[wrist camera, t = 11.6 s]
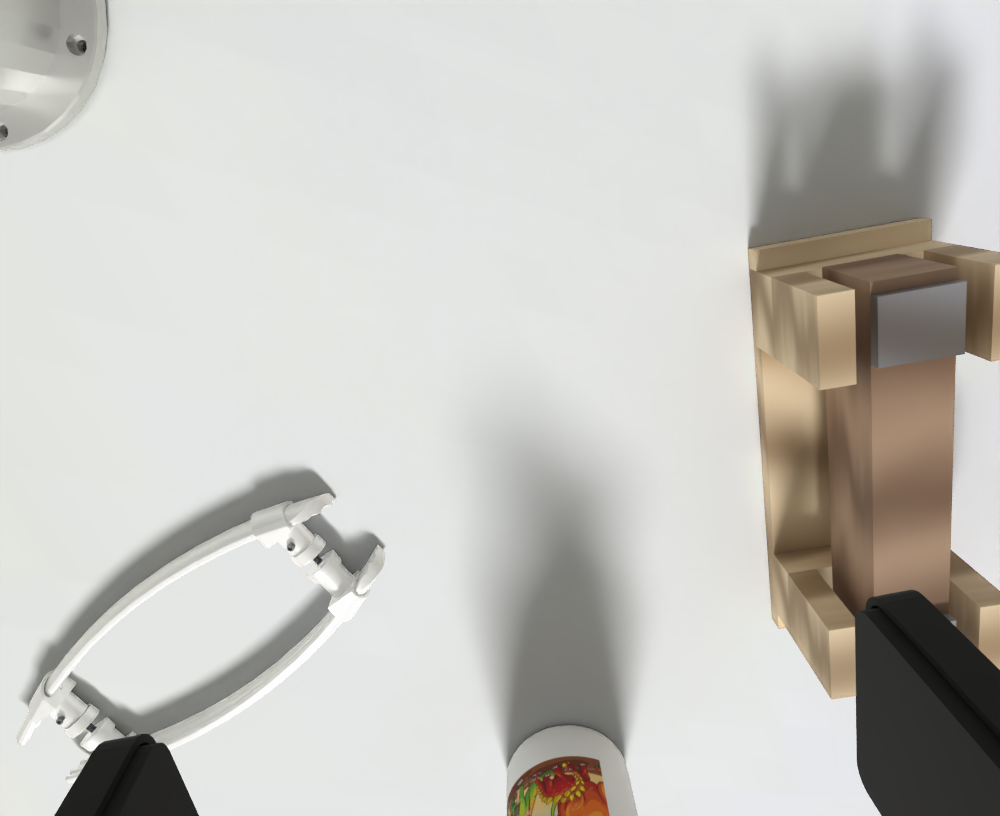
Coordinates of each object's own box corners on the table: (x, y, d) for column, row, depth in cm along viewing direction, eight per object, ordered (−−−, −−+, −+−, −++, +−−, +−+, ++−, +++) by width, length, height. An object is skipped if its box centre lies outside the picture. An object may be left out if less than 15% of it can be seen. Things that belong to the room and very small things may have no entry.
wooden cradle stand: (747, 248, 36) (815, 271, 29) (920, 217, 36) (1035, 232, 28) (772, 618, 43) (832, 715, 36) (916, 596, 43) (1008, 689, 35)
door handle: (2, 685, 45) (299, 455, 40) (121, 782, 47) (414, 577, 42) (-28, 717, 42) (286, 475, 37) (100, 818, 45) (409, 604, 40)
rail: (821, 266, 33) (877, 284, 29) (898, 253, 33) (967, 268, 28) (833, 628, 40) (881, 692, 35) (898, 618, 40) (954, 681, 35)
